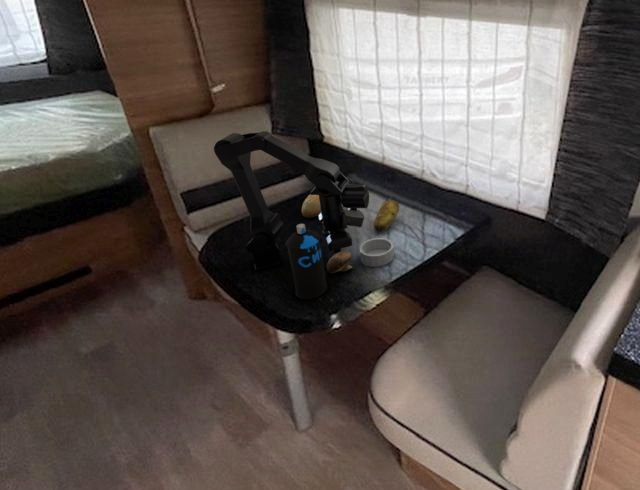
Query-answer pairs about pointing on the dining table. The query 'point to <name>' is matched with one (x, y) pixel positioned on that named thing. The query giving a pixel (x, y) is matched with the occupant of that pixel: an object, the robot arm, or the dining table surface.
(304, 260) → the aerosol can
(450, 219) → the dining table surface
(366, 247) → the white ramekin
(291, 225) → the dining table surface
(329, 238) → the robot arm
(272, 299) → the dining table surface
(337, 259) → the mushroom
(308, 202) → the bread roll
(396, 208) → the potato
